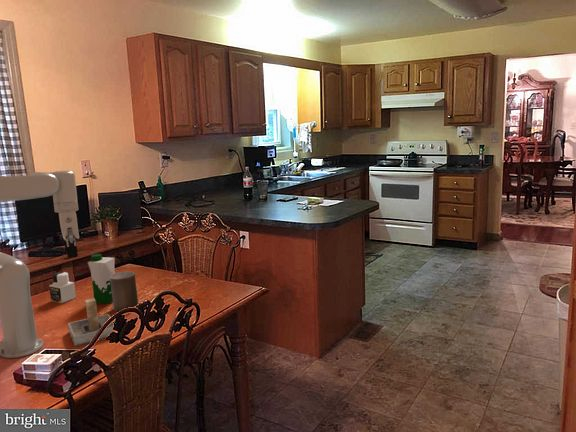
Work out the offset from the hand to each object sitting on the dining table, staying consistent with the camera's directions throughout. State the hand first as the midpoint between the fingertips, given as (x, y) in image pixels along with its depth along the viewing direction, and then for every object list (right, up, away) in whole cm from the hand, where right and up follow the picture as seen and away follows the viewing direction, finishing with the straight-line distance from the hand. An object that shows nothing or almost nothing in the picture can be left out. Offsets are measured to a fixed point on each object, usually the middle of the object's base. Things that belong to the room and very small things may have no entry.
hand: (71, 254), depth 163 cm
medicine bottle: (-21, -23, +36) cm, 48 cm away
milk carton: (-1, -23, +33) cm, 40 cm away
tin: (+7, -29, +1) cm, 29 cm away
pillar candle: (+10, -24, +25) cm, 36 cm away
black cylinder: (+8, -28, +1) cm, 29 cm away
